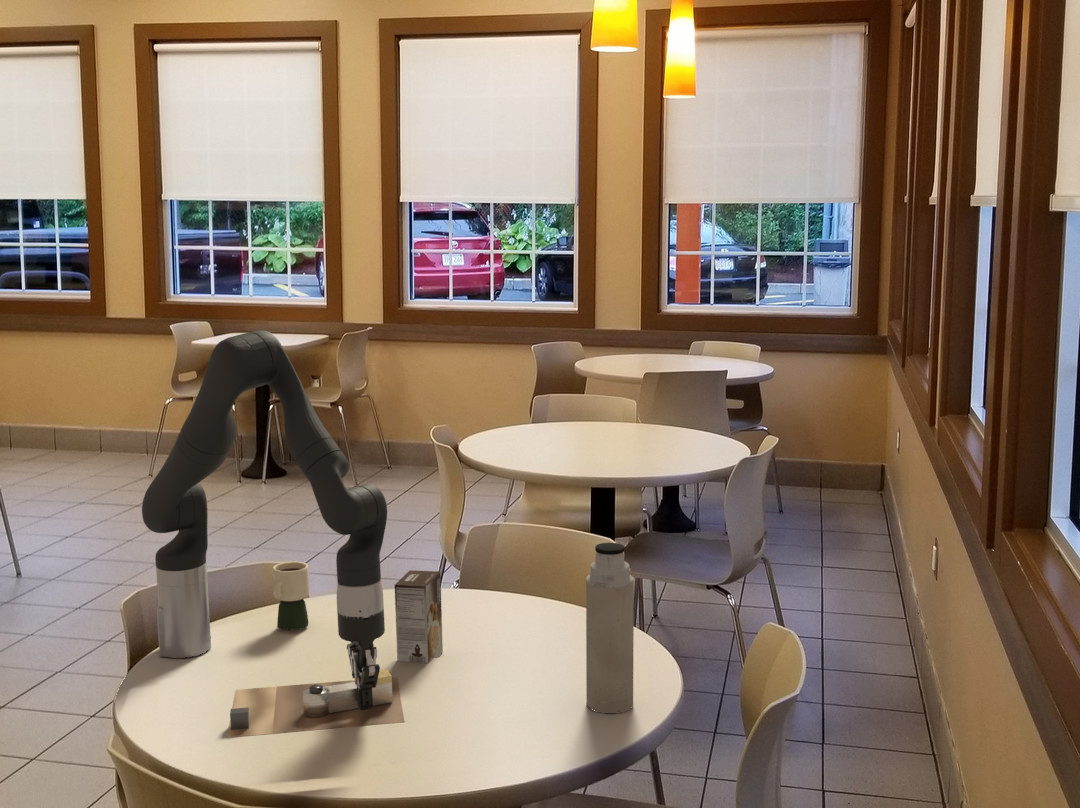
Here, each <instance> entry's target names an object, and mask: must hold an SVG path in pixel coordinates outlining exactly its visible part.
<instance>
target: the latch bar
mask: <svg viewBox="0 0 1080 808" xmlns="http://www.w3.org/2000/svg"><path fill="white" fill-rule="evenodd" d="M392 677H393V675H392V674H391V673H390V671H389V670H388V669H385V670H380V671H379V675H378V680H377V684H376V687H374V688H372V699H373V705H379V704H385V703H391V702H393V700H392ZM356 708H359V707H358V701H357V686H356V684H355V682H351V683H345V684H339V685H333V686H327V687H323V686H322V685H319V684H315V685H311V686H310V687H309V688H307V689H305V690H304V691H303V710H304V715H306V716H308V717H321V716H325V715H327V714H329V713H333V712H338V711H344V710H350V709H356Z"/></svg>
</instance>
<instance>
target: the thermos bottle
mask: <svg viewBox="0 0 1080 808" xmlns="http://www.w3.org/2000/svg"><path fill="white" fill-rule="evenodd" d="M594 550H595V552H596V553H595V559H594V561H593V562H591V563H590V566H589V567H590V568H589V570H588V571H589V574H588V575H587V576H586V578H585V580H586V581H585V585H586V586H585V589H586V591H585V592H586V593H585V596H586V597H585V600H586V601H585V602H586V606H585V607H586V609H585V610H586V611H585V612H586V614H585V616H586V617H585V619H586V620H585V621H586V622H585V624H586V625H585V627H586V629H585V630H586V631H585V632H586V633H585V636H586V638H585V640H586V642H585V644H586V645H585V646H586V648H585V649H586V650H585V651H586V658H585V659H586V660H585V661H586V681H585V682H586V695H585V696H586V706H587V705H588V706H589V707H590V708H591V709H593V710H595V711H594V712H596V711H597V712H596V713H599V712H601V713H600V714H605V713H616V714H621V713H620V712H622V713H625V712H627V710H628V711H629V710H631V709H632V708H633V706H634V635H635V634H634V624H635V623H634V620H635V619H634V617H635V616H634V608H635V607H634V605H635V603H634V599H635V598H634V595H635V594H634V593H635V592H634V591H635V587H634V582H635V581H634V577H633V576H632V575H631V574H630V572H631V568H630V564H629V563H628V562H627V561H625V553H624V552H625V550H626V548H625V545H624V544H621V543H617V542H602V543H598V544H596V545H595V549H594ZM588 706H587V707H588ZM589 707H588V708H589ZM631 707H632V708H631ZM590 708H589V709H590ZM630 708H631V709H630ZM591 709H590V710H591ZM593 710H592V711H593Z"/></svg>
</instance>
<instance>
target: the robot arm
mask: <svg viewBox="0 0 1080 808" xmlns="http://www.w3.org/2000/svg"><path fill="white" fill-rule="evenodd" d="M200 385H201V386H200V388H199V390H198V392H197V396H196V398H195V400H194V402H193V405H192V407H191V409H190V411H189V412H188V415H187V416H186V419H185V420H184V422H183V424H182V427H181V428H180V430H179V433H178V435H177V437H176V439H175V443H174V445H173V447H172V448H171V451H170V453H169V454H168V457H167V458H166V460H165V462H164V463H163V465H162V467H161V469H160V470H159V472H158V473H157V474H156V475H155V477H154V478H153V480H152V482H150V484H149V486H148V487H147V489H146V491H145V493H144V496H143V499H142V502H141V503H142V504H141V514H142V519H143V523H144V525H145V526H146V528H147V529H149V531H151V532H153V533H156V534H168V533H173V532H177V534H176V535H175V536H174V537H173V538H172V540H170V541H169V542H167V543H166V544H165V545H163V546H162V547H160V548H159V549H158V550H157V551H156V553H155V555H154V557H155V559H154V560H155V572H156V573H155V574H156V575H155V576H156V584H157V588H156V589H157V601H158V605H157V608H156V617H157V618H156V619H157V620H156V621H157V622H156V623H157V635H158V637H157V638H158V650H159V657H160V658H161V657H166V658H171V659H172V658H173V659H186V658H185V657H187V658H192V656H193V657H197V656H201V655H203V654H205V653H207V652H208V651H210V650H211V648H212V635H211V621H210V617H211V616H210V605H209V604H210V603H209V586H208V569H207V568H208V567H207V551H208V542H209V541H208V539H209V538H208V520H209V519H208V517H209V516H208V515H209V514H208V512H209V511H208V502H207V501H208V500H207V496H206V492H205V489H204V487H203V485H202V484H201V483H200V482H202V481H203V480H204V479H206V478H208V476H210V475H211V474H213V473H214V472H215V471H216V470H218V469H219V468H220V467H221V466H222V464H223V463H224V461H225V460H226V459H227V457H228V455H229V453H230V451H231V450H232V448H233V446H234V444H235V441H236V438H237V436H238V426H237V421H236V419H235V416H234V414H233V413H232V409H233V406H234V405H235V402H236V401H237V400H238V398H239V397H240V396H241V395H242V394H243V393H244V392H246V391H250V390H253V389H256V388H259V387H263V386H266V385H267V386H269V388H270V389H271V390H272V392H273V393H275V395H276V396H277V398H278V399H279V402H280V404H281V407H282V411H283V412H282V413H283V421H284V424H283V425H284V437H285V442H286V446H287V448H288V452H289V453H290V456H291V457H292V459H293V460H294V462H295V463H296V464H297V466H298V467H299V468H300V470H301V471H302V473H303V474H304V476H305V477H306V478H307V480H308V482H309V483H310V486H311V489H312V492H313V495H314V497H315V501H316V503H317V506H318V509H319V511H320V514H321V517H322V519H323V521H324V522H325V523H326V525H327V526H328V527H329V528H330V529H331V530H332V531H334V532H335V533H337V534H340V535H344V536H346V535H349V537H348V540H347V541H346V542H345V543H344V544H343V545H342V546H341V547H340V548H339V549H338V550H337V552H336V558H335V559H336V577H337V578H336V580H337V586H336V613H337V628H338V629H337V630H338V631H337V632H338V636H339V638H340V639H341V640H343V641H346V642H350V643H347V644H346V650H347V654H348V658H349V664H350V670H351V676H352V678H353V679H354V680H355V684H356V686H357V701H358V707H359V708H360V710H367V709H371V708H372V707H373V699H372V688H374V687H376V684H377V680H378V675H379V671H381V666H380V665H379V663H377V658H378V648H377V646H374V641H375V640H376V639H380V638H381V637H382V636H383V635H384V634H385V631H386V629H385V627H386V625H385V606H384V604H385V603H384V591H383V590H384V589H383V585H382V576H381V575H382V573H381V560H380V559H381V555H380V554H381V550H382V547H383V542H384V536H385V532H386V527H387V520H388V505H387V501H386V498H385V496H384V493H383V492H382V490H381V489H380V488H378V487H377V486H376V485H374V484H372V483H363V484H360V485H359V484H358V485H356V486H353V487H350V488H347V486H346V485H345V483H344V482H343V481H344V480H343V478H344V477H345V476H346V475H347V474H348V472H349V470H350V464H349V460H348V458H347V457H346V455H345V454H344V452H342V450H341V449H340V447H339V445H338V444H337V443H336V441H335V439H333V437H332V436H331V434H330V433H329V431H328V430H327V429H326V428H325V426H324V424H323V422H322V421H321V419H320V418H319V416H318V414H317V412H316V410H315V409H314V407H313V405H312V403H311V401H310V398H309V396H308V394H307V392H306V390H305V388H304V386H303V384H302V382H301V380H300V378H299V376H298V374H297V372H296V369H295V368H294V365H293V364H292V361H291V360H290V357H289V354H287V352H286V350H285V349H284V347H283V345H282V343H281V342H280V341H279V340H278V338H277V337H276V336H275V335H274V334H273V333H272V332H270V331H269V330H268V331H267V330H262V329H261V330H253V331H250V332H245V333H241V334H237V335H233V336H229V337H227V338H224V339H223V340H222V339H221V341H219V342H218V343H217V344H216V345H215V347H214V348H213V350H212V351H211V355H210V356H209V360H208V363H207V365H206V369H205V373H204V375H203V378H202V381H201V384H200ZM209 649H210V650H209ZM207 650H208V651H207ZM206 651H207V652H206ZM202 653H203V654H202ZM200 654H201V655H200Z"/></svg>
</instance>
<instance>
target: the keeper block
mask: <svg viewBox="0 0 1080 808" xmlns="http://www.w3.org/2000/svg"><path fill="white" fill-rule="evenodd" d="M229 717H230V718H229V719H230V720H229V723H230V722H231V730H236V729H248V728H249V724H250V723H249V707H247V708H235V709H232V708H230V711H229Z"/></svg>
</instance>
